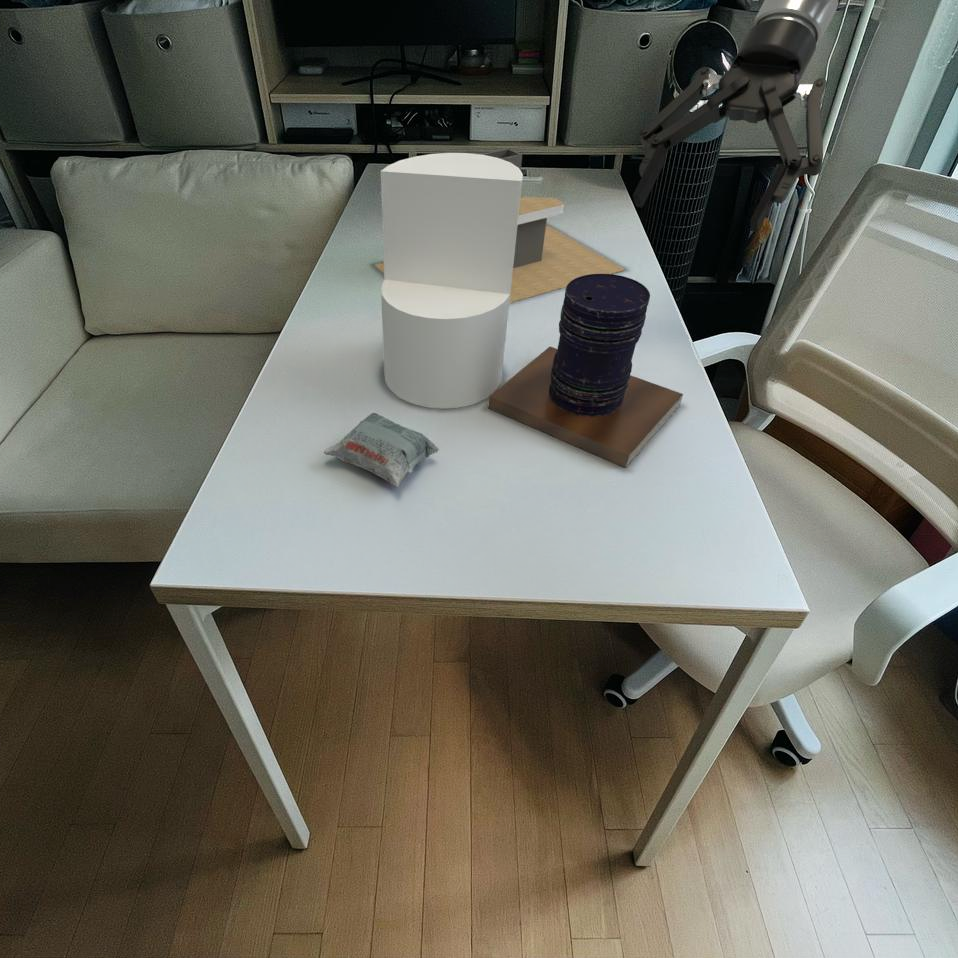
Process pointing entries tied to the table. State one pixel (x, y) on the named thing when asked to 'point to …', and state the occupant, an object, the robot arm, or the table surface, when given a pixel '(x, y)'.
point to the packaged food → (383, 448)
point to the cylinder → (447, 275)
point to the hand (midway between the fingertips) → (692, 213)
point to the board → (599, 435)
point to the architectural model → (545, 247)
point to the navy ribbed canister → (597, 343)
